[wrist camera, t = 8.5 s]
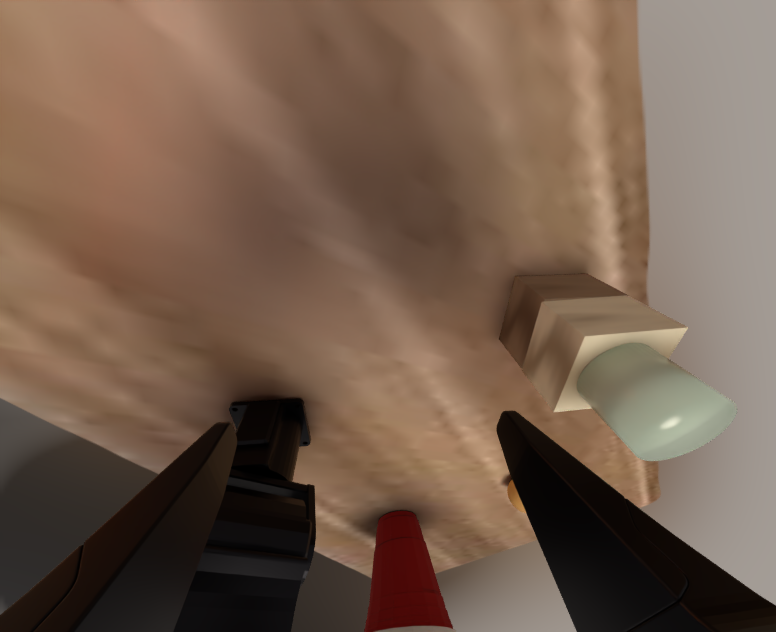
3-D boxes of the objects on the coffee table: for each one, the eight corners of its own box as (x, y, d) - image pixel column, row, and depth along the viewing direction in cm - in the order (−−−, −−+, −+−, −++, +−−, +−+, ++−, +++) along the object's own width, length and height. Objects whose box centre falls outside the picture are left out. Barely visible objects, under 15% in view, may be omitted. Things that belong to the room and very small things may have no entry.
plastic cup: (343, 526, 39) (338, 658, 29) (398, 492, 36) (415, 628, 26) (394, 543, 44) (405, 663, 34) (447, 515, 41) (477, 638, 30)
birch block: (595, 363, 22) (640, 403, 18) (521, 370, 21) (553, 412, 18) (626, 295, 18) (688, 327, 15) (541, 301, 18) (584, 336, 15)
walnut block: (561, 335, 25) (594, 363, 22) (498, 338, 24) (521, 368, 21) (586, 273, 22) (628, 295, 18) (514, 275, 21) (544, 298, 18)
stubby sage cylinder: (631, 398, 18) (697, 456, 14) (566, 403, 17) (617, 464, 14) (670, 340, 15) (760, 394, 12) (595, 344, 15) (666, 401, 12)
